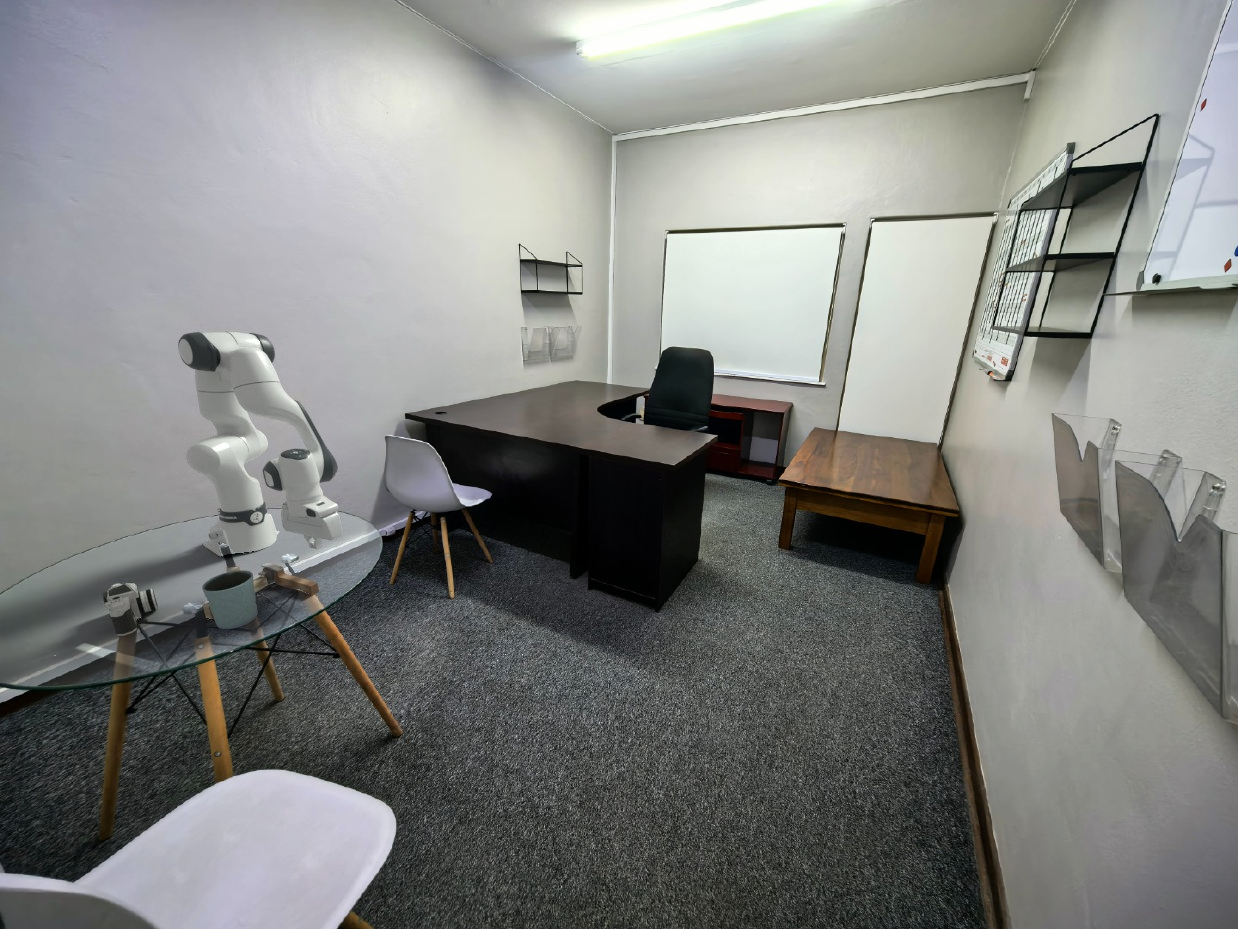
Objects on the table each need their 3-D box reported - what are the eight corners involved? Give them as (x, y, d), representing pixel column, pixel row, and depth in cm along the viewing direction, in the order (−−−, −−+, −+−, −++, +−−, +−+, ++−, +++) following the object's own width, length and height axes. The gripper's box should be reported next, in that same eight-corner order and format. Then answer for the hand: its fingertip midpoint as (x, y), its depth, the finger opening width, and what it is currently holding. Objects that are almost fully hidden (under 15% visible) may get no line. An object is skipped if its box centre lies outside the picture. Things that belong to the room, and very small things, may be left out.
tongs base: (274, 580, 139) (271, 564, 138) (283, 582, 138) (280, 565, 137) (203, 618, 121) (199, 600, 119) (214, 620, 120) (209, 602, 118)
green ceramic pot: (256, 604, 128) (247, 566, 124) (266, 619, 121) (257, 580, 118) (209, 620, 120) (198, 580, 117) (216, 637, 114) (205, 595, 110)
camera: (161, 624, 118) (151, 591, 115) (112, 640, 112) (100, 605, 109) (156, 599, 128) (147, 568, 125) (111, 612, 122) (100, 579, 119)
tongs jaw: (264, 583, 137) (260, 565, 135) (271, 580, 139) (267, 562, 137) (313, 598, 130) (309, 579, 129) (319, 594, 132) (316, 576, 130)
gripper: (270, 504, 131) (280, 547, 135) (322, 513, 125) (331, 558, 129) (292, 496, 137) (301, 538, 141) (342, 505, 131) (350, 548, 135)
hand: (316, 548), depth 135 cm, fingers closed
